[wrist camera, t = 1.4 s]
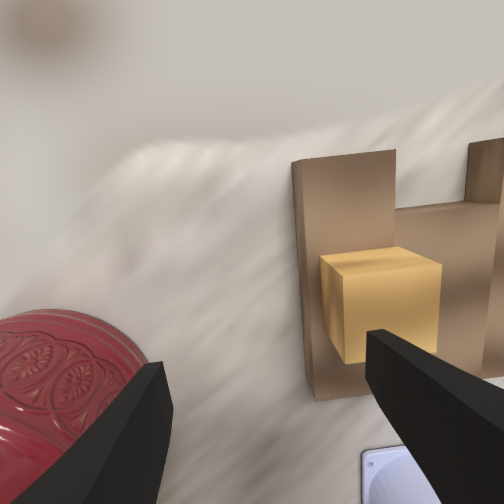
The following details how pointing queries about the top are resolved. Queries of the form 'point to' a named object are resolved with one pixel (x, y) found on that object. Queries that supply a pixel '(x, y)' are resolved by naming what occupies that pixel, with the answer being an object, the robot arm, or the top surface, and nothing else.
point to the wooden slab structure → (412, 239)
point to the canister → (54, 387)
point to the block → (379, 298)
